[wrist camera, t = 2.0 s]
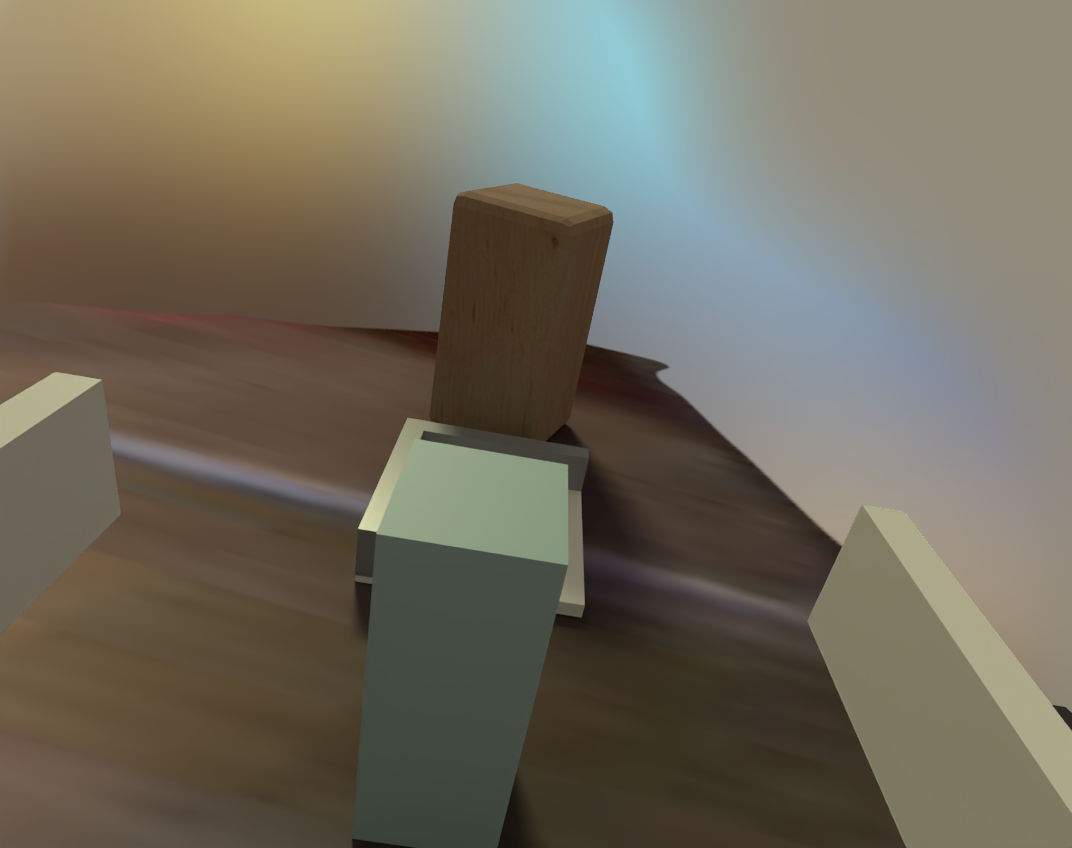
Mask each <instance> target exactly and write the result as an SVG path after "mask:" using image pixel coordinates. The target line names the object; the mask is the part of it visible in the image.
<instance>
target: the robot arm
mask: <svg viewBox="0 0 1072 848" xmlns="http://www.w3.org/2000/svg"><path fill="white" fill-rule="evenodd" d="M120 514H121V512H120V505H119V497H118V490H117V483H116V476H115V469H114V462H113V455H112V448H111V440H110V433H109V426H108V419H107V412H106V405H105V398H104V391H103V383H102V380H100V379H94V378H88V377H82V376H76V375H70V374H64V373H58V372H55V373H53V374H51V375H50V376H48V377H46V378H45V379H43V380H41V381H40V382H38V383H36V384H35V385H33V386H31V387H30V388H28V389H26V390H25V391H23V392H21V393H20V394H18V395H16V396H15V397H13V398H11V399H9V400H8V401H6V402H4V403H3V404H1V405H0V635H1V634H2V633H3V632H4V631H5V630H6V629H7V628H8V627H9V626H10V625H11V624H12V623H13V622H14V621H15V620H16V619H17V618H18V617H19V616H20V615H21V614H22V613H23V612H24V611H25V610H26V609H27V608H28V607H29V606H30V605H31V604H32V603H33V602H34V601H35V600H36V599H37V598H38V597H39V596H40V595H41V594H42V593H43V592H44V591H45V590H46V589H47V588H48V587H49V586H50V585H51V584H52V583H53V582H54V581H55V580H56V579H57V578H58V577H59V576H60V575H61V574H62V573H63V572H64V571H65V570H66V569H67V568H68V567H69V566H70V565H71V564H72V563H73V562H74V561H75V560H76V559H77V558H78V557H79V556H80V555H81V554H82V553H83V552H84V551H85V550H86V549H87V548H88V547H89V546H90V545H91V544H92V543H93V542H94V540H95V539H96V538H97V537H98V536H99V535H100V534H101V533H102V532H103V531H104V530H105V529H106V528H107V527H108V526H109V525H110V524H111V523H112V522H113V521H114V520H115V519H116V518H117V517H118V516H119V515H120ZM807 622H808V624H809V626H810V628H811V631H812V633H813V635H814V638H815V640H816V642H817V644H818V647H819V649H820V651H821V654H822V656H823V658H824V660H825V663H826V665H827V667H828V670H829V672H830V674H831V677H832V679H833V681H834V683H835V686H836V688H837V690H838V693H839V695H840V697H841V699H842V702H843V704H844V706H845V709H846V711H847V713H848V715H849V718H850V720H851V722H852V725H853V727H854V729H855V731H856V734H857V736H858V738H859V741H860V743H861V745H862V747H863V750H864V752H865V754H866V757H867V759H868V761H869V763H870V766H871V768H872V770H873V773H874V775H875V777H876V779H877V782H878V784H879V786H880V789H881V791H882V793H883V796H884V798H885V800H886V802H887V805H888V807H889V809H890V812H891V814H892V816H893V818H894V821H895V823H896V825H897V828H898V830H899V832H900V834H901V837H902V839H903V841H904V844H905V846H906V848H1072V713H1071V712H1070V711H1069V710H1068V709H1067V708H1065V707H1061V706H1055V705H1051V703H1050V702H1049V701H1048V699H1047V698H1046V697H1045V695H1044V694H1043V693H1042V691H1041V690H1040V689H1039V687H1038V686H1037V685H1036V684H1035V682H1034V681H1033V680H1032V678H1031V677H1030V676H1029V674H1028V673H1027V672H1026V671H1025V669H1024V668H1023V666H1022V665H1021V664H1020V663H1019V661H1018V660H1017V659H1016V657H1015V656H1014V655H1013V653H1012V652H1011V651H1010V649H1009V648H1008V647H1007V646H1006V644H1005V643H1004V642H1003V640H1002V639H1001V638H1000V636H999V635H998V634H997V633H996V631H995V630H994V629H993V627H992V626H991V625H990V623H989V622H988V621H987V619H986V618H985V617H984V615H983V614H982V613H981V612H980V610H979V609H978V608H977V606H976V605H975V604H974V602H973V601H972V600H971V598H970V597H969V596H968V595H967V593H966V592H965V591H964V590H963V588H962V587H961V585H960V584H959V583H958V581H957V580H956V579H955V578H954V576H953V575H952V574H951V572H950V571H949V570H948V568H947V567H946V566H945V564H944V563H943V562H942V560H941V559H940V558H939V557H938V555H937V554H936V553H935V551H934V550H933V549H932V547H931V546H930V545H929V543H928V542H927V541H926V539H925V538H924V537H923V535H922V534H921V533H920V532H919V530H918V529H917V528H916V526H915V525H914V524H913V522H912V521H911V520H910V519H909V517H908V516H907V515H906V513H905V512H904V511H898V510H892V509H886V508H880V507H874V506H868V505H862V506H861V508H860V510H859V512H858V514H857V516H856V518H855V521H854V523H853V525H852V527H851V529H850V531H849V534H848V536H847V538H846V540H845V542H844V544H843V546H842V548H841V550H840V553H839V555H838V557H837V559H836V561H835V563H834V565H833V568H832V570H831V572H830V574H829V576H828V578H827V580H826V583H825V585H824V587H823V589H822V591H821V593H820V595H819V597H818V600H817V602H816V604H815V606H814V608H813V610H812V612H811V615H810V617H809V619H808V621H807Z"/></svg>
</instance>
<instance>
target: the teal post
mask: <svg viewBox="0 0 1072 848" xmlns="http://www.w3.org/2000/svg"><path fill="white" fill-rule="evenodd" d="M567 568H568V465H566V464H560V463H555V462H549V461H543V460H537V459H531V458H525V457H519V456H514V455H508V454H502V453H496V452H490V451H484V450H478V449H472V448H467V447H461V446H455V445H449V444H443V443H437V442H431V441H425V440H420V439H414V441H413V444H412V446H411V449H410V451H409V454H408V456H407V459H406V461H405V464H404V466H403V469H402V471H401V474H400V476H399V478H398V481H397V483H396V486H395V488H394V491H393V493H392V496H391V498H390V501H389V503H388V506H387V508H386V511H385V513H384V516H383V518H382V521H381V523H380V526H379V528H378V531H377V533H376V542H375V555H374V568H373V580H372V593H371V606H370V618H369V631H368V644H367V656H366V669H365V682H364V694H363V707H362V720H361V733H360V745H359V758H358V771H357V783H356V796H355V809H354V821H353V834H352V839H358V840H365V841H372V842H379V843H386V844H393V845H400V846H407V847H414V848H497V847H498V843H499V839H500V835H501V831H502V827H503V823H504V819H505V815H506V811H507V807H508V803H509V799H510V795H511V791H512V788H513V784H514V780H515V776H516V772H517V768H518V764H519V760H520V756H521V752H522V748H523V744H524V740H525V736H526V732H527V728H528V724H529V720H530V716H531V712H532V708H533V704H534V700H535V696H536V692H537V688H538V684H539V680H540V676H541V672H542V668H543V664H544V660H545V656H546V652H547V648H548V644H549V640H550V636H551V632H552V628H553V624H554V620H555V616H556V612H557V608H558V604H559V600H560V596H561V592H562V588H563V584H564V580H565V576H566V572H567Z"/></svg>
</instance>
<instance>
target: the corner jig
mask: <svg viewBox="0 0 1072 848" xmlns="http://www.w3.org/2000/svg"><path fill="white" fill-rule="evenodd" d="M414 439H420V440H425V441H431V442H437V443H443V444H449V445H455V446H461V447H467V448H472V449H478V450H484V451H490V452H496V453H502V454H508V455H514V456H519V457H525V458H531V459H537V460H543V461H549V462H555V463H560V464H566V465H568V568H567V572H566V576H565V580H564V584H563V588H562V592H561V596H560V600H559V604H558V608H557V612H556V614H562V615H569V616H575V617H581V618H582V614H583V610H584V607H585V596H584V565H583V535H582V504H581V490H582V486H583V482H584V478H585V474H586V470H587V466H588V461H589V449H587V448H581V447H575V446H569V445H564V444H558V443H552V442H546V441H540V440H534V439H529V438H523V437H517V436H511V435H505V434H499V433H494V432H488V431H482V430H476V429H470V428H464V427H459V426H453V425H447V424H441V423H435V422H429V421H423V420H418V419H412V418H407V420H406V423H405V425H404V427H403V429H402V432H401V434H400V436H399V438H398V441H397V443H396V445H395V447H394V450H393V452H392V454H391V456H390V459H389V461H388V463H387V465H386V468H385V470H384V472H383V474H382V476H381V479H380V481H379V483H378V485H377V488H376V490H375V492H374V494H373V497H372V499H371V501H370V503H369V506H368V508H367V510H366V512H365V515H364V517H363V519H362V521H361V523H360V526H359V528H358V539H357V555H356V571H355V581H356V582H362V583H368V584H372V580H373V568H374V555H375V542H376V533H377V531H378V528H379V526H380V523H381V521H382V518H383V516H384V513H385V511H386V508H387V506H388V503H389V501H390V498H391V496H392V493H393V491H394V488H395V486H396V483H397V481H398V478H399V476H400V474H401V471H402V469H403V466H404V464H405V461H406V459H407V456H408V454H409V451H410V449H411V446H412V444H413V441H414Z"/></svg>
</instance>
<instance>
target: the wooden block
mask: <svg viewBox="0 0 1072 848" xmlns="http://www.w3.org/2000/svg"><path fill="white" fill-rule="evenodd" d="M612 226H613V215H612V212H611V211H609V210H608V209H607V208H606V207H604V206H600V205H597V204H593V203H589V202H585V201H581V200H577V199H573V198H570V197H566V196H562V195H559V194H555V193H551V192H547V191H544V190H539V189H536V188H532V187H528V186H525V185H521V184H517V183H516V184H510V185H503V186H497V187H491V188H485V189H479V190H472V191H466V192H462V193H459V194H458V195H457V197H456V200H455V202H454V207H453V215H452V225H451V233H450V242H449V250H448V259H447V268H446V277H445V285H444V294H443V303H442V312H441V321H440V329H439V338H438V347H437V356H436V364H435V373H434V382H433V391H432V400H431V408H430V419H431V421H432V422H435V423H441V424H447V425H453V426H459V427H464V428H470V429H476V430H482V431H488V432H494V433H499V434H505V435H511V436H517V437H523V438H529V439H534V440H540V441H547V440H548V439H549V438H550V437H551V436H552V435H553V434H554V433H555V432H556V431H557V430H559V429H560V428H561V427H562V426H563V425H564V424H565V423H566V422H567V420H568V419H569V418H570V414H571V410H572V405H573V401H574V396H575V392H576V387H577V383H578V378H579V374H580V369H581V365H582V360H583V356H584V352H585V347H586V343H587V338H588V334H589V329H590V324H591V320H592V316H593V311H594V307H595V302H596V298H597V293H598V289H599V284H600V280H601V275H602V270H603V266H604V262H605V257H606V253H607V248H608V244H609V239H610V235H611V230H612Z"/></svg>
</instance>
